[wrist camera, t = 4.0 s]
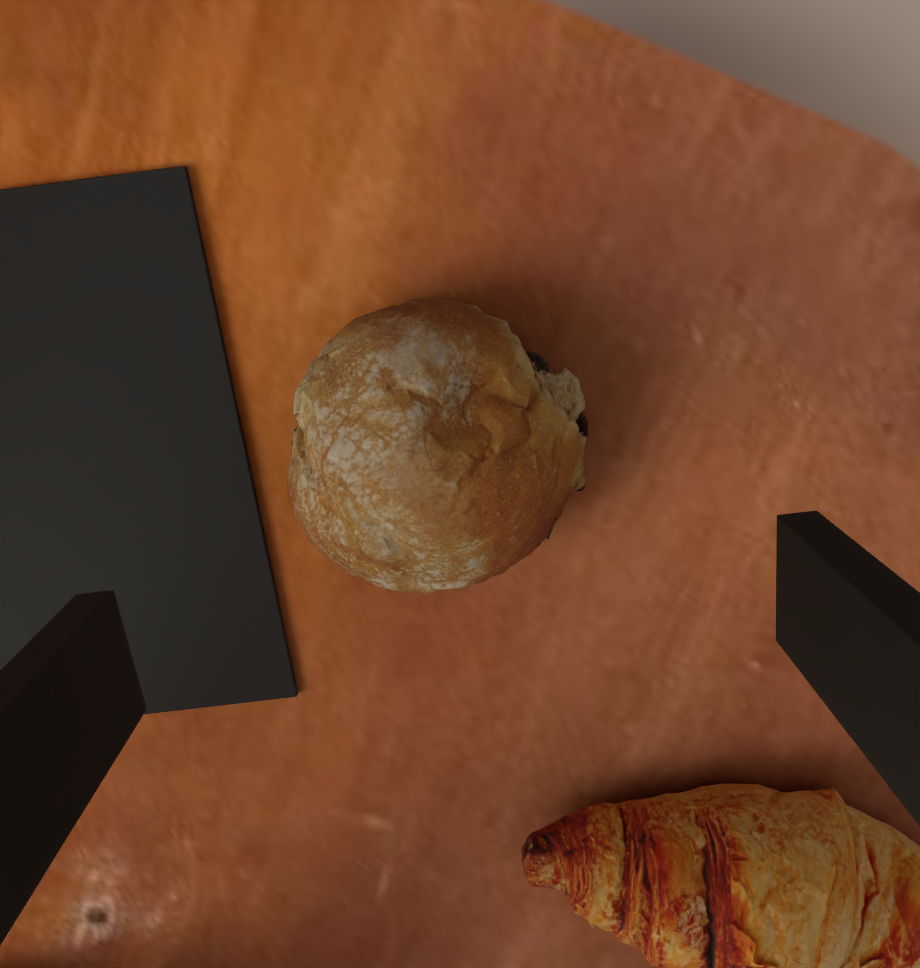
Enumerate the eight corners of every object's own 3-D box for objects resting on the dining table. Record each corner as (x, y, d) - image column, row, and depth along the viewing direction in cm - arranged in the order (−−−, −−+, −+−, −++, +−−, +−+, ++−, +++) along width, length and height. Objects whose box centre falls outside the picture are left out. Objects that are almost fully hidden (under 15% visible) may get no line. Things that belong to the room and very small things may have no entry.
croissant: (946, 798, 39) (1098, 844, 31) (930, 1025, 37) (1088, 1136, 29) (522, 722, 36) (571, 751, 29) (482, 960, 35) (523, 1061, 27)
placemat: (-137, 743, 33) (-141, 747, 33) (-347, 235, 27) (-354, 235, 26) (298, 693, 32) (297, 696, 32) (187, 166, 26) (184, 165, 26)
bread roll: (361, 281, 31) (222, 289, 24) (623, 309, 27) (548, 328, 20) (353, 521, 34) (228, 591, 27) (588, 577, 30) (513, 675, 23)
